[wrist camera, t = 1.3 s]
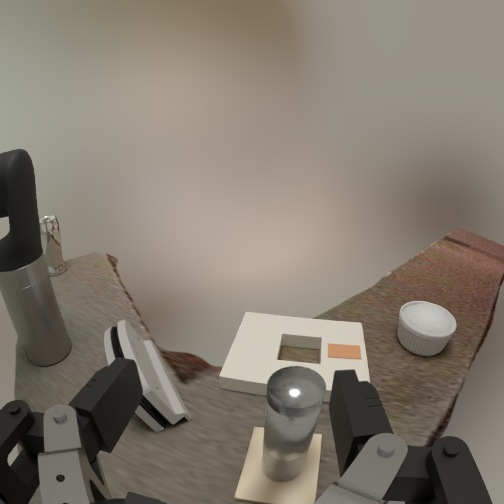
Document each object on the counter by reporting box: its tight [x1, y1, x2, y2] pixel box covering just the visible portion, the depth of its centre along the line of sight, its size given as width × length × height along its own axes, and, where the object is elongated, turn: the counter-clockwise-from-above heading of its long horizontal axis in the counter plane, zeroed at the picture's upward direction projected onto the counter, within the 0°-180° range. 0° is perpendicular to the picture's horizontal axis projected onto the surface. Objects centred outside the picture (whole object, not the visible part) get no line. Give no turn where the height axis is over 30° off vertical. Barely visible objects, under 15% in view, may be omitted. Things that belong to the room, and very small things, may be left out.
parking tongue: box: [234, 427, 322, 504], centre depth 26 cm, size 8×10×1 cm
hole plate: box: [219, 312, 370, 402], centre depth 43 cm, size 20×16×3 cm
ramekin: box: [397, 301, 456, 356], centre depth 44 cm, size 11×11×5 cm
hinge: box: [104, 319, 192, 432], centre depth 35 cm, size 17×5×10 cm, turn 30°
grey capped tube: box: [261, 366, 326, 482], centre depth 23 cm, size 4×4×14 cm
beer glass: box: [39, 215, 67, 276], centre depth 66 cm, size 7×7×15 cm
